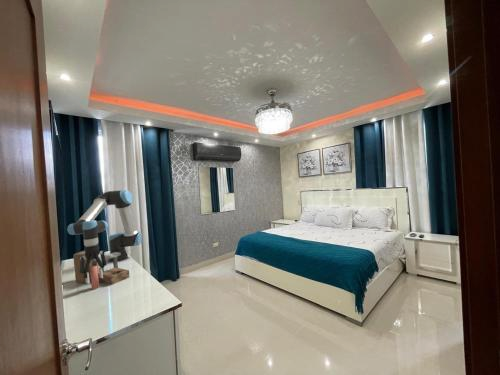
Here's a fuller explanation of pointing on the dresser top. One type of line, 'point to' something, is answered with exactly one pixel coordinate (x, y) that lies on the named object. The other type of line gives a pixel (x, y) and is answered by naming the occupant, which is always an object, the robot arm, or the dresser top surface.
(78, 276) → the wooden block
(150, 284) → the dresser top surface
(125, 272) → the socket station
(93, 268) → the peg
